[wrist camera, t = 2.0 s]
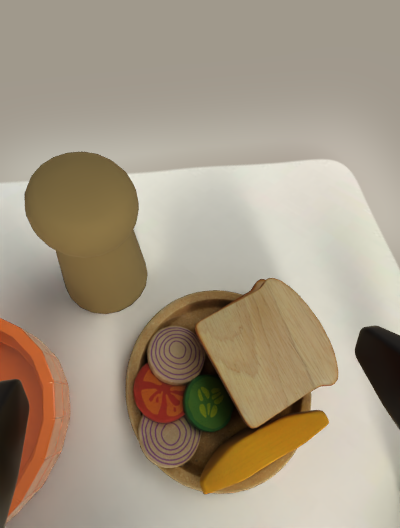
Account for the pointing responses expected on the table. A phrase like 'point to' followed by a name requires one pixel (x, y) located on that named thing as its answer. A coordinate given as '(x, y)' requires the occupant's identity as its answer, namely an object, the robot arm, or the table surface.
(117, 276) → the cork
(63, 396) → the pan
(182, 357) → the toy sandwich meal
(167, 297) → the table surface
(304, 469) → the table surface
